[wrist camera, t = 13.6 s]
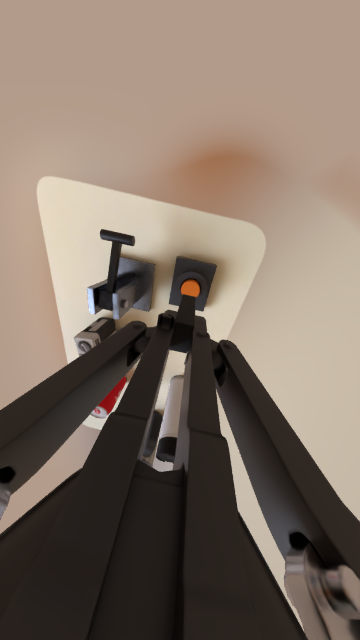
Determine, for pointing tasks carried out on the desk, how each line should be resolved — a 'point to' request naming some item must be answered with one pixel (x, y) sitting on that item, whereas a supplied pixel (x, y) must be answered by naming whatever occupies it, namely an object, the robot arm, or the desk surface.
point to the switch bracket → (126, 288)
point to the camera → (94, 334)
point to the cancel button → (190, 288)
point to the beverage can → (109, 401)
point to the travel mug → (170, 421)
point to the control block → (194, 271)
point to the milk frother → (152, 439)
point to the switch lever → (113, 265)
